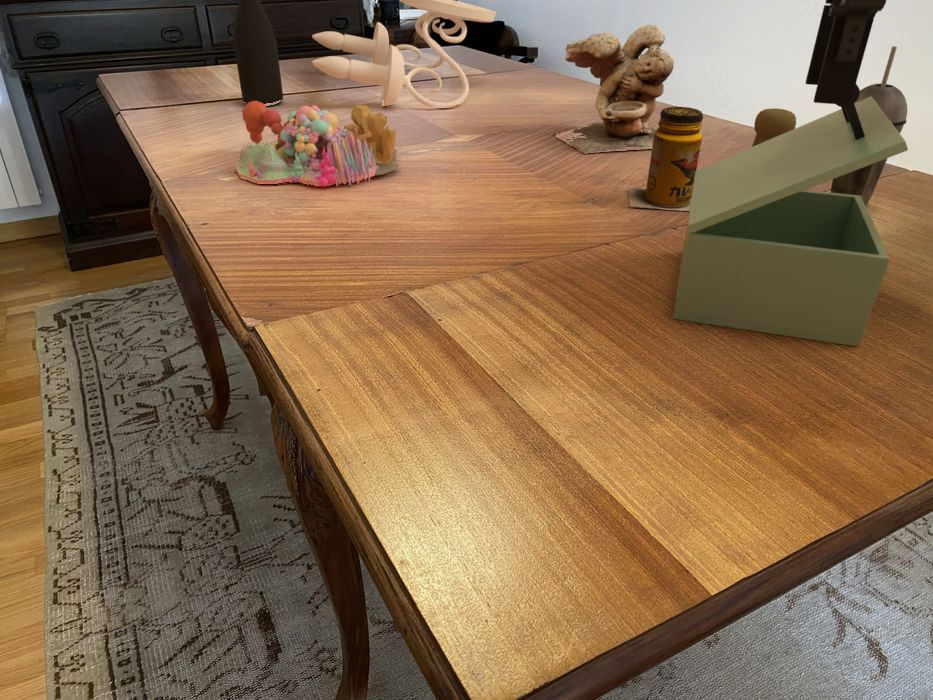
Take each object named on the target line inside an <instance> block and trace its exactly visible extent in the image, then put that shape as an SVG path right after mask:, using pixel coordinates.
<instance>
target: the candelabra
mask: <svg viewBox="0 0 933 700" xmlns="http://www.w3.org/2000/svg"><path fill="white" fill-rule="evenodd" d="M398 1H399V2H400V3H401V4H404V5H405V6H406V5H407V6H408V7H412V8H414V9H418V10H421V11H425V13H422V14H421V15H420V16H419V17H418V18H417V19H416V21H415V23H414V28H415V32H416V33H417V34H418V35H419V37H421V38H422V39H423V40H424V41H425V42H426V43H427V45H428V47H430V48H431V49H432V51H434V53H435V54H437V55H438V56H439V57H440V58H439V59H438V61H436V62H433V63H426V64H419V63H418V64H417V63H411V62H417V61H419V60H420V59H421V58H422V51H421V50H420V49H419V48H418V47H416V46H414V45H410V44H404V43H403V44H398V45H393V44H390V38H389V33H388V30H387V28H386V27H385V26H384V25H383V24H382V23H381V22H379V21H377V22H376V24H375V28H374V32H373V37H372V39H371V38H368V37H367V38H366V37H361V36H358V35H357V36H356V35H352V34H349V33H348V34H347V33H344V34H343V33H341V32H338V31H331V30H329V31H321V32H317V33H314V34H312V35H311V38H312V39H313V40H314V41H316V42H317V43H319V44H320V45H321V46H323V47H325V48H327V49H330V50H334V51H341V50H342V52H344V53H350V54H355V55H360V56H366V57H370V62H367V61H363V60H358V59H353V58H351V59H350V60H349V59H348V58H346V57H343V56H338V55H337V56H336V55H330V56H324V57H320V58H316V59H313V60H312V61H311V64H312V65H313V66H314V67H315V68H316V69H318V70H320V71H321V72H323V73H325V74H327V75H328V76H330V77H333V78H336V79H348V81H353V82H359V83H365V84H370V85H374V86H375V85H376V86H381V94H380V95H381V96H380V97H381V98H380V100H384V105H383V106H388V105H391V106H393V105H394V104H396V102H398V100H399V98H400V96H401V93H402V90H403V87H406V89H407V91H408V92H409V94H410V95H411V96H412V97H413V98H414V99H415V100H416V101H418V102H419V103H421V104H422V105H424V106H426V107H428V106H450V105H458V104H460V105H462V104H463V103H464V102H465V101H466V100H467V98H468V96H469V93H470V85H469V81H468V78H467V76H466V74H465V72H464V71H463V69H462V67H461V66H460V65H459V64H458V63H457V62H456V61H455V60H454V59H453V58H452V57H451V56H449V54H447V52H445V51H444V49H443V47H442V46H441V45H440V44H439V43H438V42H436V40H434V39H433V38H432V37H431V36H430V34H429V30H428V29H429V25H430V24H431V22H432V21H433V20H434V19H435V20H434V21H433V22H432V25H431V28H432V30H433V32H434V33H436V34H439V36H440V38H441V39H442V40H444V41H445V42H447V43H451V44H459V43H461V42H463V41H464V40H465V38H466V36H467V32H468V28H467V25H466V22H465V21H471V22H478V23H493V22H494V21H495V17H496V16H497V14H498V13H497V12H496V11H494V10H492V9H488V8H485V7H481V6H478V5H474V4H470V3H467V2H462V1H459V0H398ZM440 18H442V19H444V20H450V21H452V22H453V23H454V24H455V25H454V26H453V27H451V28H443V26H445V25H446V22H442V23H440V21H441V19H440ZM464 20H465V21H464ZM438 23H440V25H439V27H437V26H436V24H438ZM421 24H422V25H421ZM460 29H461V33H460V34H459V35H458V36H450V35H453V34H455V33H457V32H458V31H459V30H460ZM403 50H404V51H411V52H414V53H415V54H417V56H415V57H410V58H409V60H410V62H407V61H405V59H404V56H403V54H402V52H401V51H403ZM444 62H446V63H447V64H448V65H449V66H450V67H452V69H453V70H454V71H455V72H456V74H457V75H458V77H459V79H460V80H461V83H462V86H463V90H462V94H461V95H460V96H459V97H458V98H456V99H454V100H452V101H449V102H448V101H447V102H438V101H435V100H434V101H433V100H431V99H429V98H427V97H424V96H423V95H421V94H420V93H418V92H417V91H416V89H415V88H414V87H413V85H412V83H411V80H412V78H413V76H415V75H416V74H419V73H424V74H428V75H430V76H432V77H433V78H435V79H436V80H437V82H438V88H436V89H431V91H430V94H436V93H438V92H439V91H440V90H441V88H442V82H443V81H442V78H441V76H440V75H439V74H438V73H437V72H436V71H435V70H433V69H436V68H438V67H440V66H442V65H443V64H444ZM407 67H417V68H414V69H411V70H410V71H408V73H407V74H405V73H406V71H405V68H407ZM429 68H433V69H429ZM461 103H462V104H461ZM392 104H393V105H392Z"/></svg>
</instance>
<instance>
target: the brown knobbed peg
mask: <svg viewBox="0 0 933 700" xmlns="http://www.w3.org/2000/svg"><path fill="white" fill-rule="evenodd" d="M753 126H754V128H753V129H754V131H755V133H756V134H755V137H754V139H753V142H752V146H751V147H753V146H756V145H758V144H760V143H763V142H765V141H767V140H770V139H772V138H774V137H777V136H779V135H781V134H784V133H786V132H789V131H791V130H793V129H796V126H797V117H796V115H795V113H794V112H792V111H790V110H787V109H784V108H775V107H774V108H765V109H761V110H760V111H759V112H758V113H757V114H756V116H755V120H754V125H753Z"/></svg>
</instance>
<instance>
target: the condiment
mask: <svg viewBox="0 0 933 700" xmlns="http://www.w3.org/2000/svg"><path fill="white" fill-rule="evenodd" d="M659 114H660V117H659V120H658V124H657V125H658V127H657V129H655V130H656V131H655V134H654V139H653V146H652V150H651V154H650V161H649V167H648V173H647V181H646V188H640V187H639V188H638V187H628V188H627V190H628V192H627V193H628V201H629V207H630V208H642V209H644V208H645V209H658V210H665V211H680V212H681V211H682V212H690V207H691V200H692V193H693V185H694V178H695V171H697V170H698V169H697V168H698V163H699V157H700V152H701V148H702V147H701V146H702V142H703V141H702V139H703V134H702V133H701V130H702V125H703V124H702V123H703V119H704V114H703V112H702V110H699V109H697V108H693V107H690V106H689V107H687V106H668V107H664V108H663V109H661V110H660V113H659Z"/></svg>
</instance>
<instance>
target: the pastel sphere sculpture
mask: <svg viewBox="0 0 933 700" xmlns="http://www.w3.org/2000/svg"><path fill="white" fill-rule="evenodd" d="M350 113H351V115H350V119H351V121H352V122H350V123H349V124H346V125H344V127H343V126H342V125H341V124H340V123H341V122H340V120H339V118H338V116H337V114H335V113H334V112H329V111H328V110H325V109H320V108H319V107H318V106H317V105H316V104H311V106H308V105H302V106H300V107H298V109H296V110H292V111H291V112H290V113H289V114H288V116H287V121H286V122H284V124H281V123H282V116H281V114H280V113H279V112H278V110H275V109H269V108H268V107H266V106H265V105H264V104H263V103H261V102H259V101H251V102H248V103H247V104H245V105H244V106H243V108H242V119H243V122H244V124H245V129H246V131H247V133H249V139H250V141H252V143H250V144H245V145H243V146H242V147H240V148H241V150H240V152H239V155H238V157H237V159H236V160H235V162H234V167H233V170H234V171H235V170H236V171H237V173H238V174H237V173H236V174H237V176H238V175H239V176H240V177H243V178H246V179H249V180H251V181H254V182H256V183H265V184H278V183H283V182H290V181H291V182H290V183H298V182H301V183H303V184H302V185H304V184H307V185H306V186H313V185H314V186H313V187H322V188H324V187H328V186H329V187H330V186H332V185H333V186H334V185H335V186H336V187H338V185H341V184H343V185H346V184H347V183H348V186H349V185H351V186H352V184H354V183H357V185H359V184H360V181H363V180H364V181H367V179H368V182H369V181H370V182H371V178H373V177H374V176H380V175H385V174H388V173H391V172H393V171H396V169H397V168H399V167H400V164H399V163H397V162H395V161H394V160H393V158H394V157H395V156H396V155H397V154H398V149H396V148H395V146H396V138H397V130H395V129H390V128H389V126H388V125H387V124H388V116H387V115H385V114H384V113H383V112H382V113H381V112H378V113H376V114H374V112H373V111H372V109H371V108H370V107H369V106H367V105H366V104H353V106H352V110H351V112H350ZM265 127H268V128H269V129H270V131H271V132H272V133H273V134H274V135H275V136H276V135H277V140H276V141H273V142H268V141H262V140H263V134H262V133H263V132H264V130H265ZM253 143H254V144H253ZM235 164H236V165H235ZM239 176H238V177H239ZM293 181H294V182H293ZM357 181H358V182H357ZM301 183H300V184H301ZM283 184H284V183H283ZM309 184H310V185H309ZM278 185H279V184H278Z"/></svg>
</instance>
